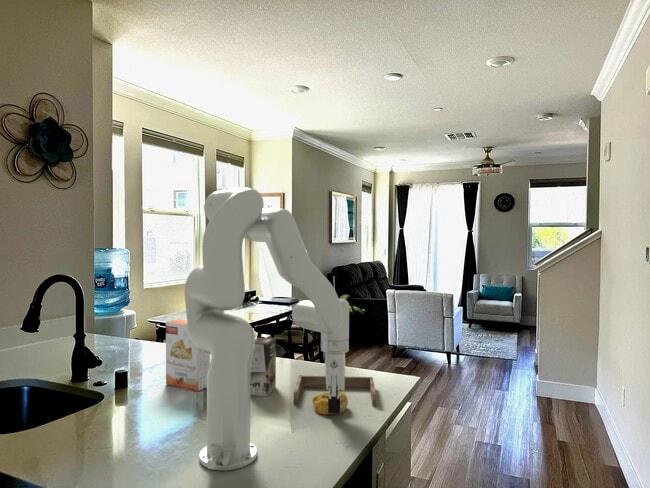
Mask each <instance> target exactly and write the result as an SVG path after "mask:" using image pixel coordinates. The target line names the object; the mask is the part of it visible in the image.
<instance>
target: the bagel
mask: <svg viewBox="0 0 650 488" xmlns="http://www.w3.org/2000/svg"><path fill="white" fill-rule="evenodd" d="M328 396H329V392H323V393H321V394H317V395H315V396H313V397H312V398H311V402H312V404H313V405H312V406H313V407H314V410H315V412H316V413H317V414H319V415H325V416H329V415H338V414H342V413H344V412H345V411H346V410H347V406H348V404H349V400H348V397H347V395H346V393H344V392H343V391H339V397H340V413H328Z"/></svg>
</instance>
